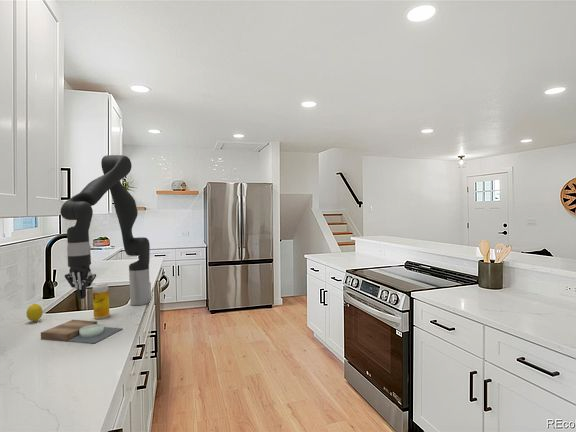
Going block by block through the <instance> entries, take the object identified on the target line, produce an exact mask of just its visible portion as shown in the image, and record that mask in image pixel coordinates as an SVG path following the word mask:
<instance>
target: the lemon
mask: <svg viewBox="0 0 576 432" xmlns="http://www.w3.org/2000/svg"><path fill="white" fill-rule="evenodd" d="M43 312H44V311H43V307H42V306H41V305H40V304H37V303H32V304H31V305H29V306H28V308H27V310H26V318H27V319H28V320H29V321H32V322H33V323H36V322H37V321H38V320H39V319H41V318H42V317H43V314H44V313H43Z"/></svg>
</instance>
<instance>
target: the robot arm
mask: <svg viewBox="0 0 576 432" xmlns="http://www.w3.org/2000/svg"><path fill="white" fill-rule="evenodd" d="M100 164H101V170H102V173H103V175H101V176H98V177H97V178H94V179H93V180H91V181H90V182H89V183H88V184H87V185H86V186H85V187H84V188H83V189H82V190H80V192H79V193H77V194H75V195H73V196H72V197H70V198H69V199H67V200H66V201H65V202H63V204H62V205H61V207H60V215H61V217H62V218H63V219H64V220H67V221H76V222H75V223H74V224H75V225H73V226H70V227H68V228H67V229H66V239H67V241H66V242H67V244H66V245H67V247H66V248H67V249H66V253H67V267H68V268H69V272H68V273H67V274H66V273H65V274H64V278H65V280H66V281H67V283H68V285H70V287H71V289H72V288H75V289H74V290H76V297H77V299H78V300H83V299H85V298H86V296H87V293H86V292H87V288H89V287H91V285H92V284H93V282H94V281H95V280H96V277H97V274H96V273H94V274H93V273H92V271H91V268H90V266H91V264H92V255H91V244H90V236H89V235H90V227H91V223H92V219H93V213H94V212H93V211H94V210H93V207H92V206H95V205H96V204H97V203H98V202H99V201H100V200H101V199H102V197H104V195H105V194H106V193H107V192H108V191H109V192H110V195H111V198H112V201H113V206H114V210H115V214H116V217H117V219H118V220H117V221H118V224H119V227H120V231H121V239H122V244H123V249H124V251H125V254H126V255H127V256H129V257H138V260H137V261H134V262H131V263H130V264H129V265H128V273H129V274H128V277H129V298H130V299H129V300H130V301H129V303H130V305H131V306H143V305H147V304H149V303H151V301H152V283H151V281H150V260H151V259H150V258H151V257H150V256H151V255H150V251H151V250H150V249H151V245H150V241H149V239H148V238H147V237H143V236H141V237H140V236H139V237H134V236H133V226H134V224H135V222H136V220H137V217H138V215H139V214H138V213H139V212H138V209H137V203H136V200H135V198H134V196H133V195H132V194H131V193H130V192H129V191H128V189H126V188H125V187H124V185H123V184H122V182H121V180H123V179H124V178H125V177H126V176H128V175H129V174H130V173H131V170H132V164H133V163H132V161H131V159H130V158H129V157H128V156H127V155H123V154H122V155H121V154H120V155H119V154H111V155H110V154H108V155H107V154H106V155H103V156H102V158H101V163H100Z"/></svg>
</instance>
